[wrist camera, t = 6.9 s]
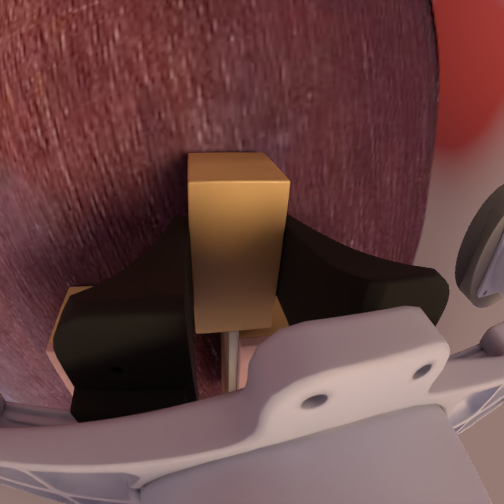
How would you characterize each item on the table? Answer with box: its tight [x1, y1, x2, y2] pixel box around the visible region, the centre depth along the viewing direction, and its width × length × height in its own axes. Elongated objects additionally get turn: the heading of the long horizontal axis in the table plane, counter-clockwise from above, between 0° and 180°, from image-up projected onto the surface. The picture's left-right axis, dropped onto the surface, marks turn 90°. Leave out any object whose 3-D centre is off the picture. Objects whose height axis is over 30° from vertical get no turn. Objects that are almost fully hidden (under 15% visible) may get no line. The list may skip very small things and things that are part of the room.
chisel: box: [188, 152, 290, 394], centre depth 14 cm, size 15×3×4 cm, turn 177°
